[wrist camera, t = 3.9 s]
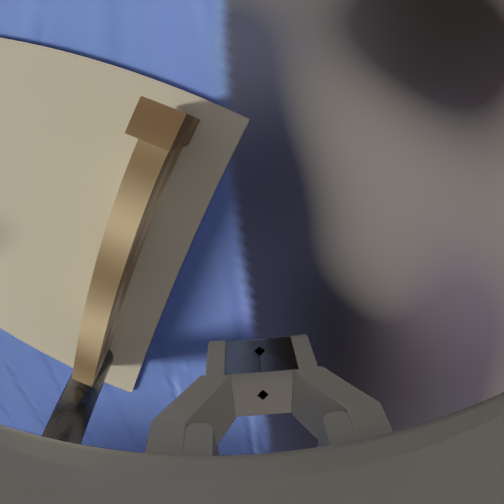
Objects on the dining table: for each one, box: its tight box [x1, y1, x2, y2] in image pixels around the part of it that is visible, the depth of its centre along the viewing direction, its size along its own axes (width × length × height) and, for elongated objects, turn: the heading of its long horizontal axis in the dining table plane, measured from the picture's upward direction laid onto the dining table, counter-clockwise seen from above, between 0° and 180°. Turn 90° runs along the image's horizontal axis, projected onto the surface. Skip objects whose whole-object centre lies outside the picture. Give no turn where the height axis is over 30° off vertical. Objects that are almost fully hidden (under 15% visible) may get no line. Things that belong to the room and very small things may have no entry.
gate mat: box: [0, 38, 250, 393], centre depth 18 cm, size 23×24×1 cm
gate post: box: [42, 349, 113, 444], centre depth 17 cm, size 3×3×13 cm
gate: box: [72, 96, 200, 387], centre depth 16 cm, size 17×2×6 cm, turn 154°
